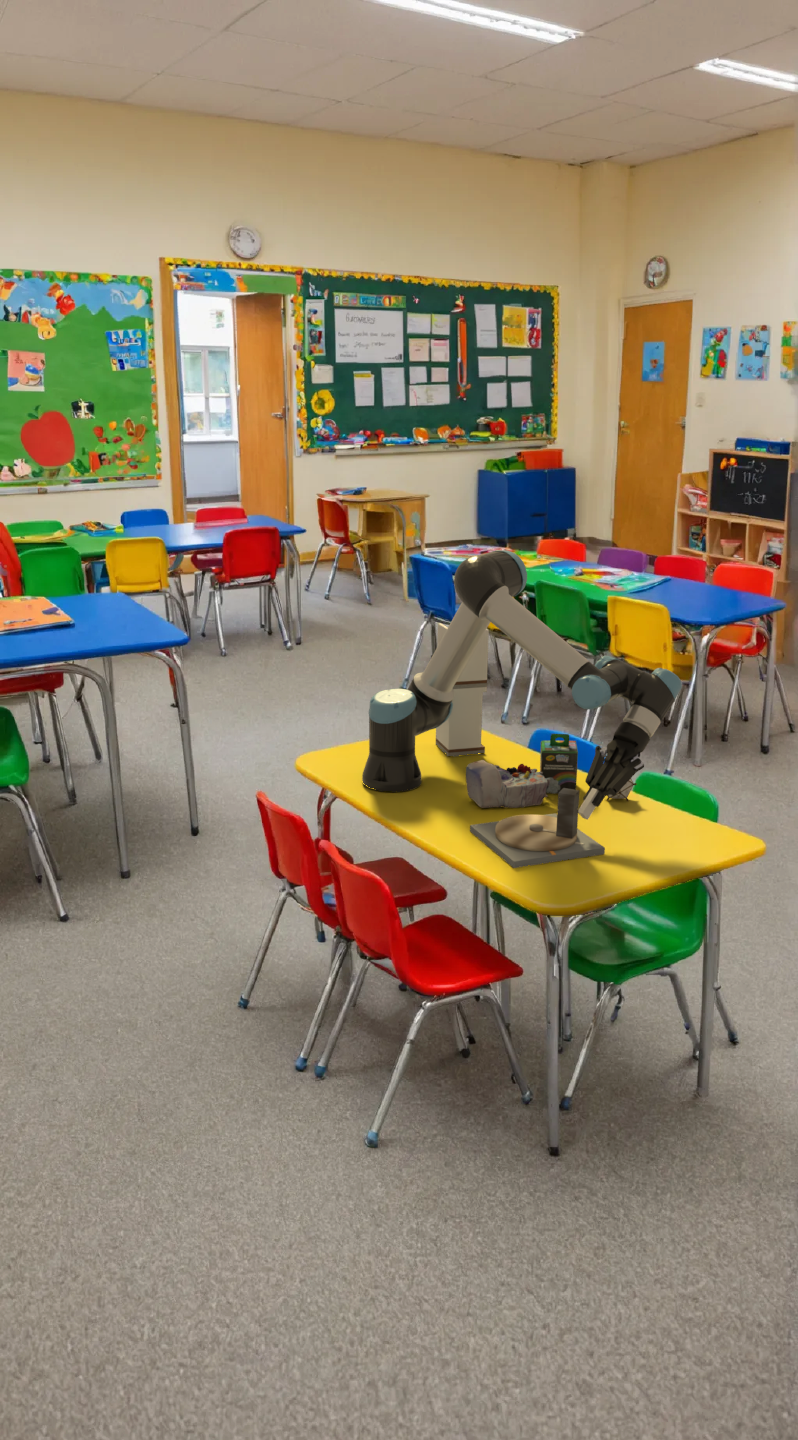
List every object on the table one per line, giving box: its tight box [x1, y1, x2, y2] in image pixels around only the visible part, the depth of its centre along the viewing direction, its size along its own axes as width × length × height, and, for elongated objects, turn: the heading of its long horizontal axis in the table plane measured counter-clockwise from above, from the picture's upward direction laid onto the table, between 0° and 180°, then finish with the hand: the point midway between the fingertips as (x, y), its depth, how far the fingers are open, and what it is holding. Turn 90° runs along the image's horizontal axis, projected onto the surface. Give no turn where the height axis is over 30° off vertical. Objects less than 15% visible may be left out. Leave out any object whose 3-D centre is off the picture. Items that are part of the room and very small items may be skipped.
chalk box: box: [539, 733, 579, 795], centre depth 281 cm, size 9×9×15 cm
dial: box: [495, 788, 580, 851], centre depth 247 cm, size 18×18×12 cm
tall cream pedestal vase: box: [435, 622, 490, 757], centre depth 309 cm, size 11×11×35 cm
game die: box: [606, 778, 637, 802], centre depth 275 cm, size 9×8×10 cm
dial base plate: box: [469, 812, 606, 869], centre depth 249 cm, size 22×22×2 cm
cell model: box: [465, 759, 550, 809], centre depth 272 cm, size 13×11×20 cm
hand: (582, 815), depth 247 cm, fingers closed
